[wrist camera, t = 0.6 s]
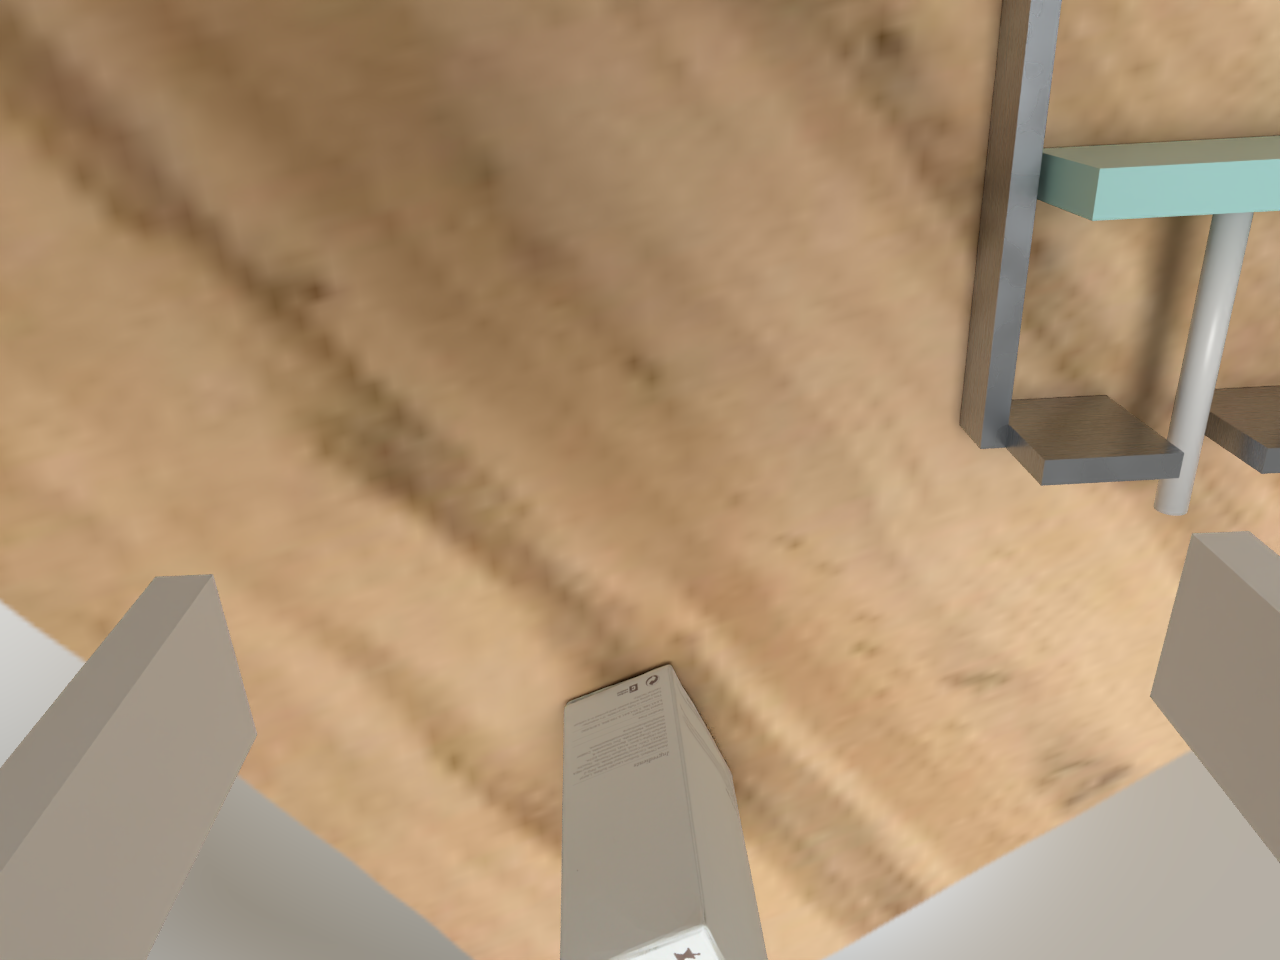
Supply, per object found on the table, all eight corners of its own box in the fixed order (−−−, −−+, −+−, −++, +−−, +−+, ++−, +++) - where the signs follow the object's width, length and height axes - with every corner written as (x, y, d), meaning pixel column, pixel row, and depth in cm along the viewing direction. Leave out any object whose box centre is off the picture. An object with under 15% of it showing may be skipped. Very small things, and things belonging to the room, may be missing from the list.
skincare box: (562, 700, 46) (539, 979, 32) (677, 655, 45) (703, 924, 31) (635, 818, 49) (642, 1116, 35) (743, 779, 48) (793, 1070, 34)
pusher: (1029, 149, 35) (1100, 168, 30) (1362, 131, 35) (1489, 147, 30) (989, 483, 41) (1042, 547, 36) (1274, 468, 41) (1368, 529, 35)
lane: (1040, -371, 29) (1139, -465, 23) (1535, -398, 29) (1749, -499, 23) (959, 425, 40) (1013, 486, 34) (1316, 405, 40) (1426, 464, 34)
